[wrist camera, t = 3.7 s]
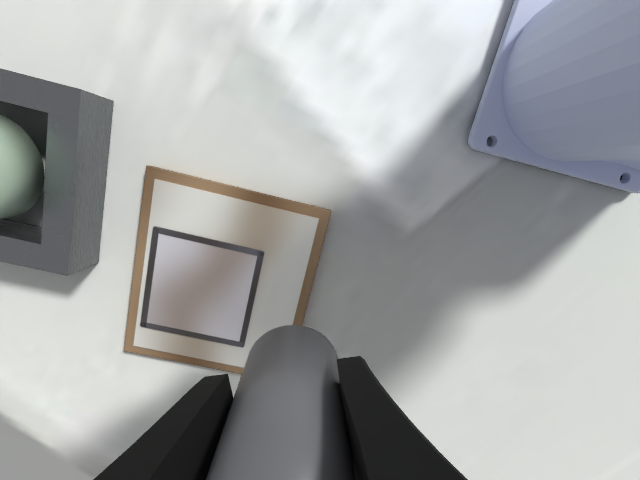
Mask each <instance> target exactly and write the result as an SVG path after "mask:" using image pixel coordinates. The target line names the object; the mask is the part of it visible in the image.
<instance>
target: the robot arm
mask: <svg viewBox="0 0 640 480" xmlns="http://www.w3.org/2000/svg"><path fill="white" fill-rule="evenodd" d="M488 137H491V138H492V140H493V143H492V145H491V146H490V147H489V146H488V145H487V143H486V142H487V139H488ZM468 144H469V146H470V147H471V148H472V149H474V150H476V151H480V152H484V153H487V154H491V155H495V156H498V157H502V158H506V159H510V160H513V161H517V162H521V163H524V164H528V165H532V166H535V167H539V168H543V169H546V170H550V171H554V172H557V173H561V174H565V175H568V176H572V177H576V178H580V179H583V180H587V181H591V182H594V183H598V184H602V185H605V186H609V187H613V188H616V189H620V190H624V191H627V192H631V193H640V0H514V3H513V6H512V9H511V12H510V15H509V18H508V21H507V24H506V27H505V30H504V33H503V36H502V39H501V42H500V45H499V48H498V51H497V53H496V56H495V59H494V62H493V65H492V68H491V71H490V74H489V77H488V80H487V83H486V86H485V89H484V92H483V95H482V98H481V101H480V104H479V107H478V110H477V113H476V116H475V119H474V122H473V125H472V128H471V131H470V134H469V136H468ZM621 175H622V176H623V177H622V180H621V181H620V176H621ZM337 367H338V374H339V382H340V389H341V396H342V404H343V411H344V416H345V421H346V426H347V431H348V435H349V441H350V446H351V452H352V459H353V466H354V473H355V480H468V479H466V478H465V477H464V476H463V475H462V474H461V473H460V472H459V471H458V470H457V469H456V468H455V467H454V466H453V465H452V464H451V463H450V462H449V461H448V460H447V459H446V458H445V457H444V456H443V455H442V454H441V453H440V452H439V451H438V450H437V449H436V448H435V447H434V446H433V445H432V444H431V442H430V441H429V440H428V439H427V438H426V437H425V436H424V435H423V434H422V433H421V432H420V431H419V430H418V429H417V427H416V426H415V425H414V424H413V423H412V422H411V421H410V420H409V418H408V417H407V416H406V415H405V414H404V412H403V411H402V410H401V409H400V408H399V407H398V405H397V404H396V403H395V402H394V401H393V399H392V398H391V397H390V396H389V394H388V393H387V392H386V391H385V389H384V388H383V387H382V385H381V384H380V383H379V381H378V380H377V378H376V377H375V376H374V374H373V373H372V371H371V370H370V368H369V367H368V365H367V363H366V362H365V360H364V359H363V358H362V357H360V356H357V357H349V358H342V359H337ZM232 402H233V395H232V391H231V386H230V382H229V377H228V374H223V375H215V376H208V377H204V378H203V379H201V380H200V381H199V382H198V383H197V384H196V385H195V386H194V387H193V388H191V389H190V390H189V391H188V392H187V393H186V394H185V395H184V396H183V397H182V398H181V399H180V400H179V401H178V402H177V403H176V404H175V405H174V406H173V407H172V408H171V409H170V410H169V411H167V412H166V413H165V414H164V415H163V416H162V417H161V418H160V419H159V420H158V421H157V422H156V423H155V424H154V425H153V426H152V427H151V428H150V429H149V430H148V431H146V432H145V433H144V434H143V435H142V436H141V437H140V438H139V439H138V440H137V441H136V442H135V443H134V444H133V445H132V446H131V447H130V448H128V449H127V450H126V451H125V452H124V453H123V454H122V455H121V456H119V457H118V458H117V459H116V460H115V461H114V462H113V463H112V464H110V465H109V466H108V467H107V468H106V469H105V470H104V471H103V472H102V473H100V474H99V475H98V476H97V477H96V478H95V479H94V480H206V478H207V475H208V472H209V469H210V466H211V463H212V460H213V457H214V454H215V451H216V448H217V446H218V443H219V440H220V437H221V434H222V431H223V428H224V425H225V422H226V419H227V416H228V413H229V411H230V408H231V405H232Z"/></svg>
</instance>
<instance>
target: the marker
mask: <svg viewBox="0 0 640 480" xmlns="http://www.w3.org/2000/svg"><path fill="white" fill-rule="evenodd" d="M337 359H338V357H337V354H336V351H335V349H334V347H333V345H332V344H331V343H330V341H329V340H328V339H327V338H326V337H325V336H323V335H322V334H321V333H319V332H318V331H316V330H314V329H311V328H308V327H305V326H300V325H286V326H280V327H277V328H274V329H272V330H270V331H268V332H266V333H265V334H263V335H262V336H261V337H260V338H259V339H258V340H257V341H256V342H255V343H254V345H253V346H252V348H251V350H250V352H249V355H248V358H247V361H246V364H245V367H244V370H243V373H242V375H241V378H240V381H239V384H238V387H237V390H236V393H235V396H234V399H233V402H232V405H231V408H230V411H229V413H228V416H227V419H226V422H225V425H224V428H223V431H222V434H221V437H220V440H219V443H218V446H217V448H216V451H215V454H214V457H213V460H212V463H211V466H210V469H209V472H208V475H207V478H206V480H355V473H354V466H353V459H352V452H351V446H350V441H349V435H348V431H347V426H346V421H345V416H344V411H343V404H342V396H341V389H340V382H339V374H338V367H337Z"/></svg>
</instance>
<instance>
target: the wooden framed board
mask: <svg viewBox="0 0 640 480" xmlns="http://www.w3.org/2000/svg"><path fill="white" fill-rule="evenodd" d="M330 214H331V210H328V209H324V208H320V207H316V206H312V205H308V204H304V203H300V202H296V201H291V200H287V199H283V198H279V197H275V196H271V195H267V194H263V193H259V192H255V191H251V190H247V189H243V188H239V187H234V186H230V185H226V184H222V183H218V182H214V181H210V180H206V179H202V178H198V177H194V176H190V175H186V174H182V173H177V172H173V171H169V170H165V169H161V168H157V167H153V166H146V172H145V180H144V189H143V197H142V205H141V213H140V222H139V230H138V238H137V247H136V255H135V263H134V271H133V280H132V288H131V296H130V304H129V313H128V321H127V329H126V337H125V346H124V351H127V352H132V353H137V354H143V355H148V356H153V357H158V358H163V359H168V360H173V361H178V362H183V363H188V364H193V365H198V366H203V367H208V368H213V369H218V370H223V371H228V372H233V373H238V374H242V373H243V370H244V367H245V364H246V361H247V358H248V355H249V352H250V350H251V348H252V346H253V345H254V343H255V342H256V341H257V340H258V339H259V338H260V337H261V336H262V335H263V334H265V333H266V332H268V331H270V330H272V329H274V328H277V327H280V326H286V325H300V326H302V323H303V319H304V315H305V311H306V307H307V303H308V299H309V296H310V292H311V288H312V284H313V280H314V276H315V272H316V268H317V264H318V261H319V257H320V253H321V249H322V245H323V241H324V237H325V233H326V229H327V226H328V222H329V218H330Z"/></svg>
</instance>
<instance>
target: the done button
mask: <svg viewBox="0 0 640 480" xmlns="http://www.w3.org/2000/svg"><path fill="white" fill-rule="evenodd" d="M44 179H45V176H44V165H43V161H42V158H41V155H40V153H39V150H38V149H37V147H36V145H35V143H34V142H33V140H32V139H31V138H30V136H29V135H28V134H27V133H26V132H25V131H24V130H23V129H22V128H21V127H20V126H19V125H18V124H16V123H15V122H14V121H12V120H11V119H9V118H7V117H6V116H4V115H1V114H0V219H3V218H9V217H14V216H17V215H20V214H22V213H24V212H26V211H27V210H29V209H30V208H31V207H32V206H33V205H34V204H35V203H36V202H37V200H38V199H39V197H40V195H41V193H42V190H43V186H44Z"/></svg>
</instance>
